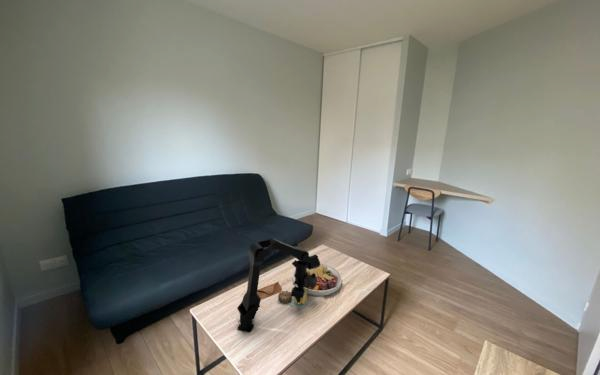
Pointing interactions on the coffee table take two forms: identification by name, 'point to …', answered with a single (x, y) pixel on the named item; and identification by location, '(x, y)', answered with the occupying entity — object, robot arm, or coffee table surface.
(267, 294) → the sunglasses case
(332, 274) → the bowl
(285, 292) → the gear
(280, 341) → the coffee table surface
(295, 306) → the gear board
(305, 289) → the gear
